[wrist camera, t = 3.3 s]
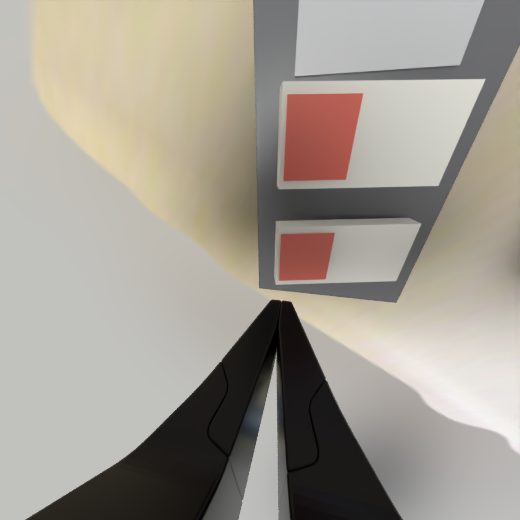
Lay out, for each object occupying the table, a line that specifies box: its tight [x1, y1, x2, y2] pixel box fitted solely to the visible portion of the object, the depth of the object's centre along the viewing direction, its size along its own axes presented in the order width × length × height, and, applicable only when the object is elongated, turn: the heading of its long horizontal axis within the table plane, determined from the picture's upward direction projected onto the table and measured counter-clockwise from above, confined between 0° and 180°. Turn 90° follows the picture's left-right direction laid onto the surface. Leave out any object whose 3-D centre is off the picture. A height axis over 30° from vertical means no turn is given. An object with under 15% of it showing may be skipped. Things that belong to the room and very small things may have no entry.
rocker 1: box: [277, 79, 486, 189], centre depth 9 cm, size 8×4×1 cm, turn 91°
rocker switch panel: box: [253, 0, 520, 303], centre depth 12 cm, size 11×20×4 cm, turn 2°
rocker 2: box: [274, 218, 421, 285], centre depth 12 cm, size 8×4×1 cm, turn 91°
